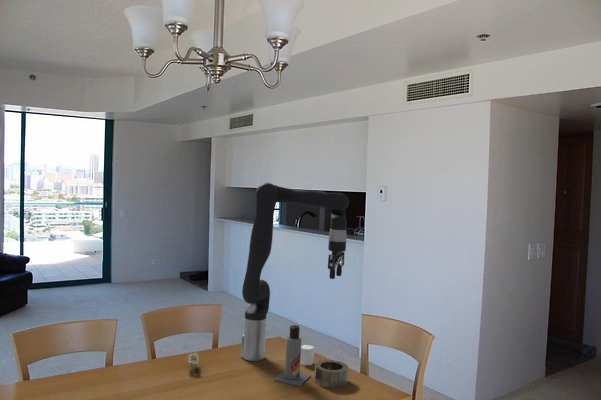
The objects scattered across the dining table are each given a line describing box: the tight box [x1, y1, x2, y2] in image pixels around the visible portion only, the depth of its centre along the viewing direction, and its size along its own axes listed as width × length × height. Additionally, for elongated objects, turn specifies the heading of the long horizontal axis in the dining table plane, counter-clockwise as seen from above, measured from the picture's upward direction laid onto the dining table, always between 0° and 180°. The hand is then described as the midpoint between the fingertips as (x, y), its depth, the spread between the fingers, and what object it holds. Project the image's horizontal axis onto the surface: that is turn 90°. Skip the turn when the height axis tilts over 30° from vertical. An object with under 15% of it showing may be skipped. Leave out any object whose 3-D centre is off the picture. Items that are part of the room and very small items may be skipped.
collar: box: [313, 359, 349, 389], centre depth 188 cm, size 12×12×6 cm
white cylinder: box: [300, 344, 316, 367], centre depth 206 cm, size 7×7×7 cm
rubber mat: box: [273, 370, 312, 387], centre depth 189 cm, size 11×11×1 cm
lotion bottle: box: [284, 324, 302, 380], centre depth 189 cm, size 6×6×20 cm
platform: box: [187, 351, 199, 372], centre depth 193 cm, size 12×18×7 cm, turn 12°
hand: (335, 277), depth 211 cm, fingers open, 8 cm apart
